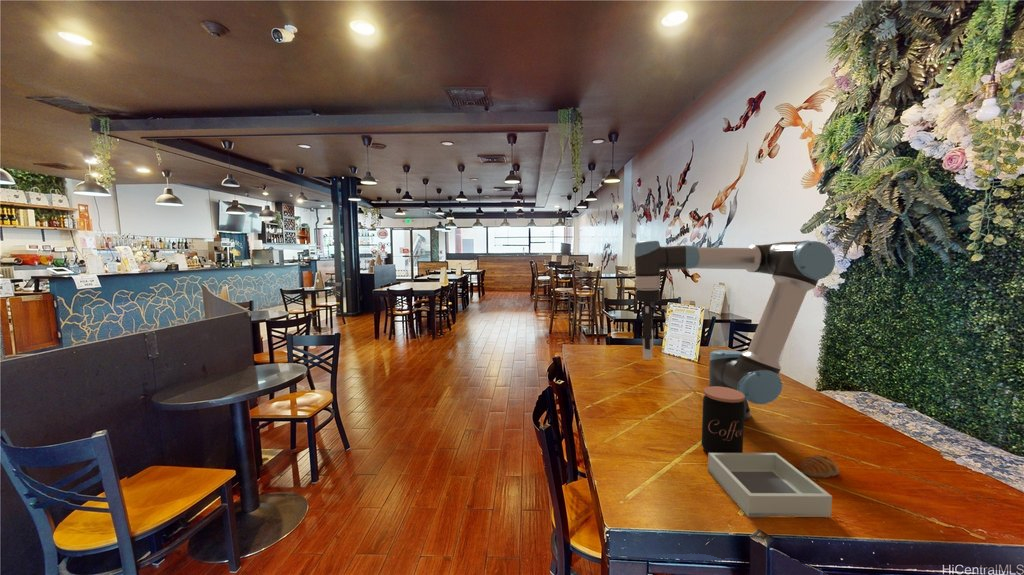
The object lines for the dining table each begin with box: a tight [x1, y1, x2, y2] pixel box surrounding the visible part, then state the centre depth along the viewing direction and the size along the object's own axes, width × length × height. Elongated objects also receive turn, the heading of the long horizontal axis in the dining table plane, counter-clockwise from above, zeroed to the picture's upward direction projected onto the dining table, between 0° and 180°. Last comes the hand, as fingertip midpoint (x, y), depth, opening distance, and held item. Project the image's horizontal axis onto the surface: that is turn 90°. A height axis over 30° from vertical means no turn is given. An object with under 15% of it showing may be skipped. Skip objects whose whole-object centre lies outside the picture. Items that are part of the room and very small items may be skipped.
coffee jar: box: [701, 386, 745, 454], centre depth 109 cm, size 11×11×18 cm
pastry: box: [798, 454, 840, 479], centre depth 99 cm, size 9×7×4 cm
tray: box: [707, 452, 833, 519], centre depth 91 cm, size 18×18×5 cm
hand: (648, 353), depth 121 cm, fingers open, 13 cm apart
